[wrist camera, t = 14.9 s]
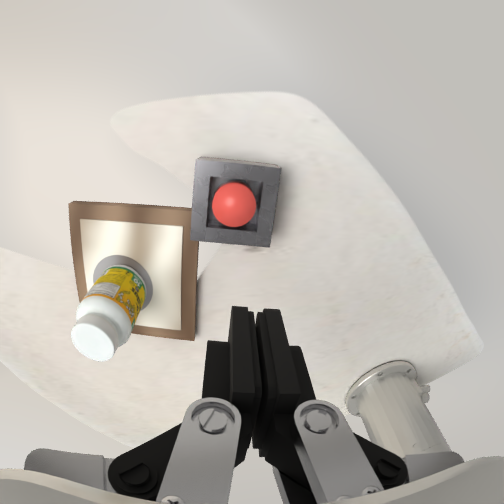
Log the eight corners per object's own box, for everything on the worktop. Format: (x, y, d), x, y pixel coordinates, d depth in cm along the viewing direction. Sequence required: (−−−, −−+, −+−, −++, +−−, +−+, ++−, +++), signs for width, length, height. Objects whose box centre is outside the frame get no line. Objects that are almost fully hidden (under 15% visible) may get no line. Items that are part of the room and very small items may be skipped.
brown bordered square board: (201, 208, 28) (199, 212, 26) (195, 334, 33) (193, 342, 32) (73, 200, 26) (67, 204, 25) (87, 319, 32) (83, 326, 30)
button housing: (275, 164, 27) (281, 168, 23) (265, 234, 29) (269, 247, 26) (200, 156, 26) (195, 159, 23) (194, 228, 28) (190, 240, 25)
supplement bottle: (99, 260, 27) (57, 310, 18) (147, 265, 28) (117, 321, 19) (104, 304, 29) (71, 361, 20) (148, 310, 30) (126, 372, 21)
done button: (256, 182, 26) (258, 186, 23) (251, 220, 27) (253, 228, 25) (215, 178, 25) (214, 182, 23) (212, 216, 27) (210, 224, 24)
